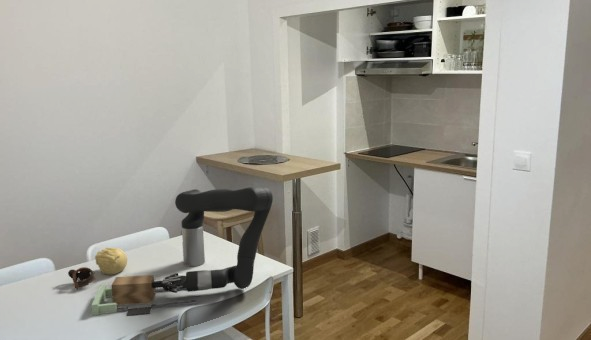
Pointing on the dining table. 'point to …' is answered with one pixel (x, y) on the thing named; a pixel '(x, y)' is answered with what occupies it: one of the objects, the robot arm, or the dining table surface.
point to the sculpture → (111, 260)
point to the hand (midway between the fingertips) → (152, 284)
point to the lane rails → (162, 303)
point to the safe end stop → (99, 300)
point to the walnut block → (133, 290)
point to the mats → (138, 311)
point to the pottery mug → (81, 277)
